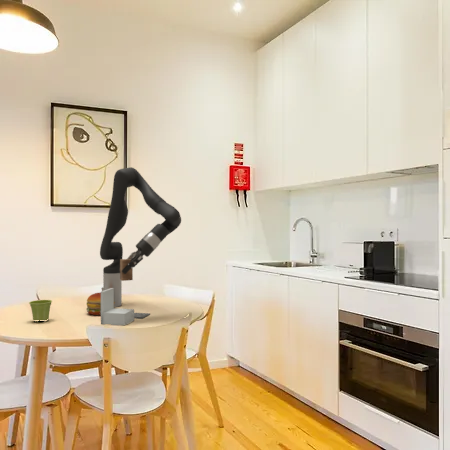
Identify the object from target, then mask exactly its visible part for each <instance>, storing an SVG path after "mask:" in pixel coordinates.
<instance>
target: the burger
mask: <svg viewBox="0 0 450 450" xmlns="http://www.w3.org/2000/svg"><path fill="white" fill-rule="evenodd" d="M114 303H115V302H114ZM114 308H116V307H114ZM86 312H87V313H88V314H89V315H93V316H101V292H95V293H92V294H91V295H89V296H88V297H87V298H86Z"/></svg>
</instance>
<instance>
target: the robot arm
mask: <svg viewBox="0 0 450 450" xmlns="http://www.w3.org/2000/svg"><path fill="white" fill-rule="evenodd" d="M131 187H134V188H135V189H137V190H138V191H139V192H140V193H141V195H142V197H143V200H144V203H145V204H146V205H147V207H149V208H150V209H151V210H152V211H154V213H155V214H157V215H159V216H161V217H162V218H163V219H164V221H163V222H161V223H157V224H156V225H155V226H154V227H152V228H151V229H150V231H148V233H147V234H146V233H145V235H144V236H142V238H140V240H139V241H138V242H137V244H135V248H136V249H137V250H136V251H133V252H131V253H130V255H129V256H128V257H127V258H126V259H130V262H129V263H128V265H126V266H125V268H124V269H123V270H122V272H123V273H124V274H126V273H127V272H128V271H129V270H130V269H131V268H135V267H136V266H137V265H138V264H139V263H140V262H142V260H144V256H145V257H147V258H148V257H149V256H150V255H151V254H152V253H153V252H154V251H155V250H156V249H157V248H158V247H159V246H160V244H161V243H162V242H163V241H164V239H166V237H167V236H168V235H170V234H171V233H173V232H174V231H175V230H176V229H178V227H179V226H181V223H182V216H181V214H180V212H179V210H178V209H177V208H176V207H175V206H174V205H172V204H169V203H168V202H167V201H166V200H165V199H164V198H162V197H161V196H160V195H159V194H158V193H157V192H156V191H155V190H154V189H153V188H152V187H151V186H150V184H149V183H148V182H147V181H146V180H145V178H144V177H143V175H141V173H140V172H139V171H138V170H137V169H135V167H125V168H124V167H123V168H120V169H117V170H116V171H115V173H114V177H113V185H112V194H111V200H110V206H109V210H108V214H107V221H106V225H105V226H106V227H105V231H104V234H103V236H102V237H103V238H102V240H101V244H100V249H99V257H100V258H101V260H104V261H112V263H111V264H109V265H107V266H105V267H103V270H102V271H103V272H102V273H103V275H102V276H103V277H102V278H103V282H102V283H103V286H102V288H101V291H104V290H107V289H110V288H114V302H115V303H114V307H115V308H116V307H121V306H122V302H123V301H122V300H123V299H122V295H123V294H122V290H123V289H122V286H123V285H122V284H123V283H122V282H123V281H122V280H120V259H123V257H124V256H123V254H124V250H123V244H122V243H121V242H119V241H113V239H114V238H115V236H117V234H118V233H119V232H120V231H121V230H122V229H123V228H124V227H125V226H126V223H127V220H128V215H129V209H128V206H127V203H126V198H125V197H126V193H127V190H128V188H131Z"/></svg>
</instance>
